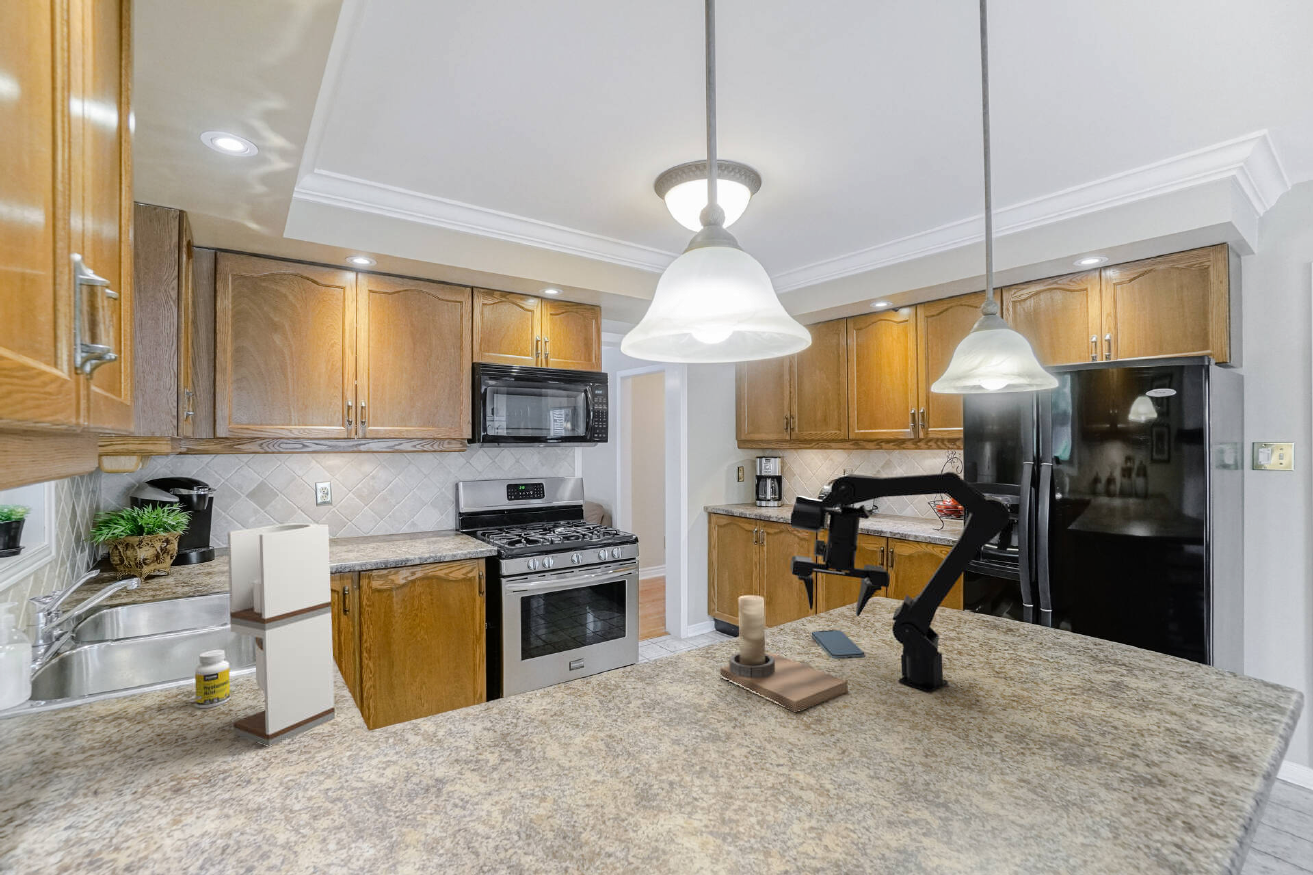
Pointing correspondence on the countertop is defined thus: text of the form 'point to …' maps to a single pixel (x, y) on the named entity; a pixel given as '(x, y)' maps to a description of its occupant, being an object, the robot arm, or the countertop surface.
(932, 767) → the countertop surface
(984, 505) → the robot arm
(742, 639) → the stool leg
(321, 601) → the display case
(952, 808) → the countertop surface
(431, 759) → the countertop surface
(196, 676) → the supplement bottle
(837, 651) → the smartphone
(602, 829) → the countertop surface
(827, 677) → the stool seat
